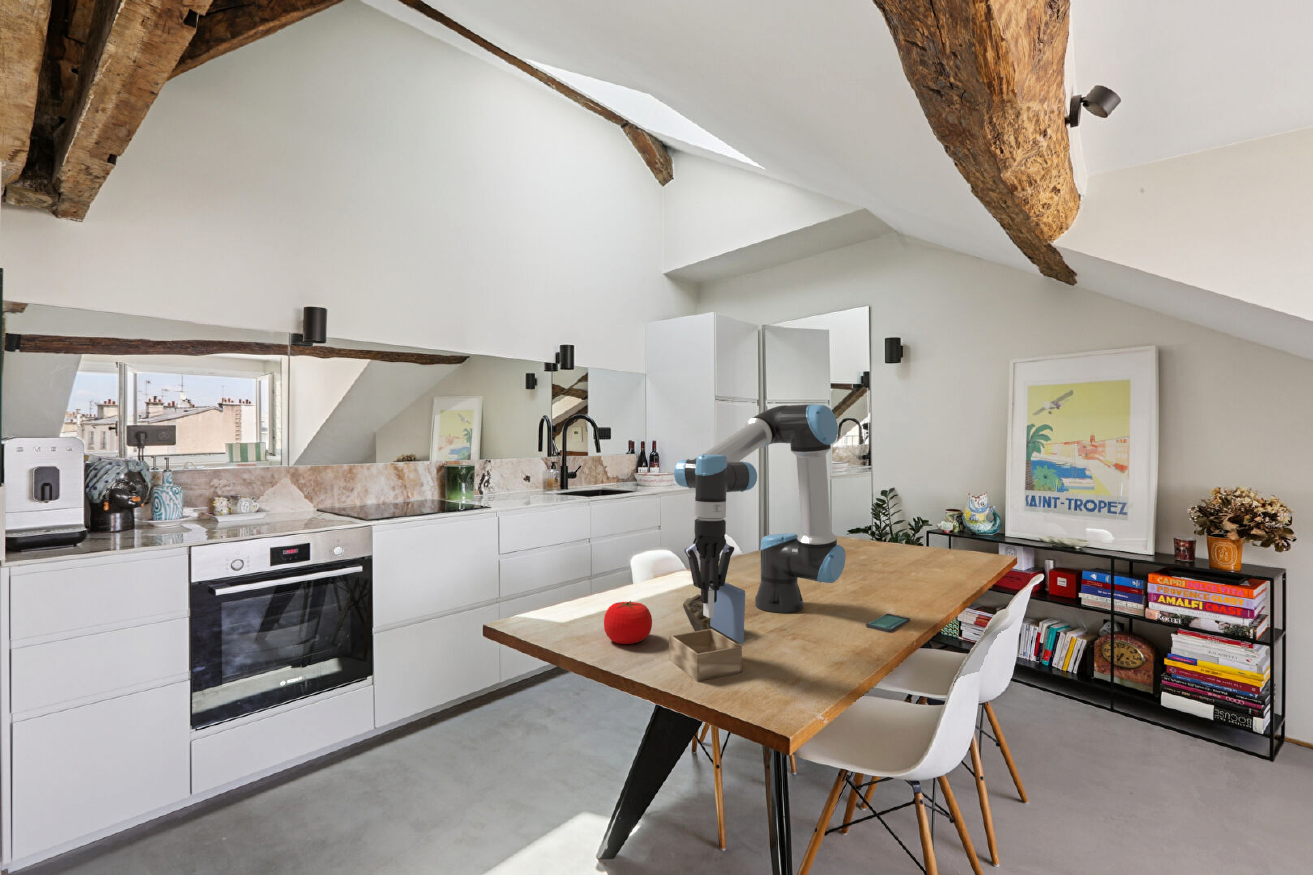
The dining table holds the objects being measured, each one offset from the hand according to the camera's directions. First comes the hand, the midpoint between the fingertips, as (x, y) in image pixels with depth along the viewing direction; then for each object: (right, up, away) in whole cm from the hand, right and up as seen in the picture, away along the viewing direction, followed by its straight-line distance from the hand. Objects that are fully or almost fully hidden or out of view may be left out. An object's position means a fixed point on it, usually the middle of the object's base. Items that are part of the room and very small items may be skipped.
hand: (708, 616), depth 145 cm
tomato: (-20, -12, +17) cm, 29 cm away
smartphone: (+55, -12, +31) cm, 65 cm away
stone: (+4, -12, +21) cm, 24 cm away
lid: (+3, +1, +1) cm, 4 cm away
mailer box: (-1, -12, 0) cm, 12 cm away
